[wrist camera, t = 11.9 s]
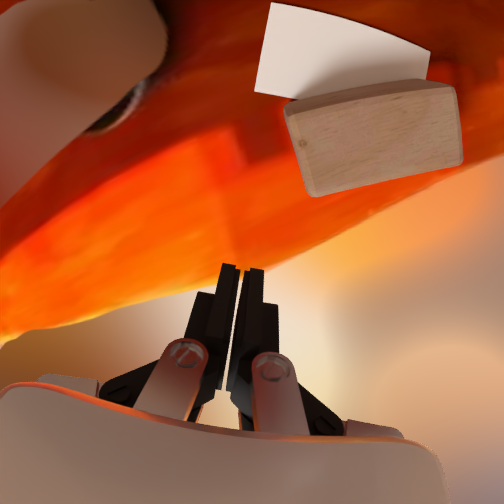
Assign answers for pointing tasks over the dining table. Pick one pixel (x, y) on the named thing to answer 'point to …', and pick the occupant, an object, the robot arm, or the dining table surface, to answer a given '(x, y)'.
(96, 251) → the dining table surface
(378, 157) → the wooden block
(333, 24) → the white mat
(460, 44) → the dining table surface
